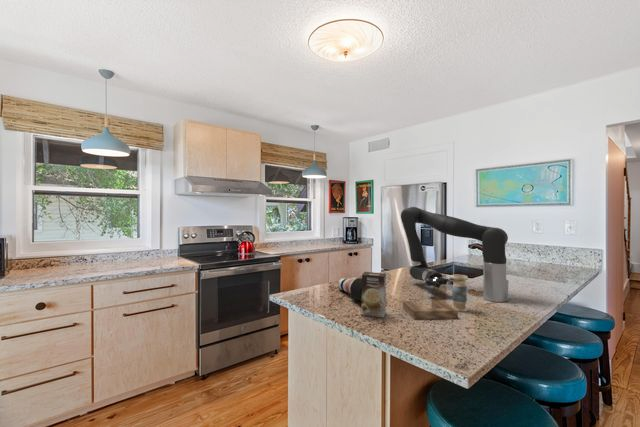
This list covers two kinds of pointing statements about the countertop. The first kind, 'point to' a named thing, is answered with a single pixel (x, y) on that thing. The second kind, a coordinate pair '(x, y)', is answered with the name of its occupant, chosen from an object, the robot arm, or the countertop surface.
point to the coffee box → (373, 294)
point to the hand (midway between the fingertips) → (448, 285)
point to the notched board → (430, 310)
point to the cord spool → (459, 292)
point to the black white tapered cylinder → (352, 287)
